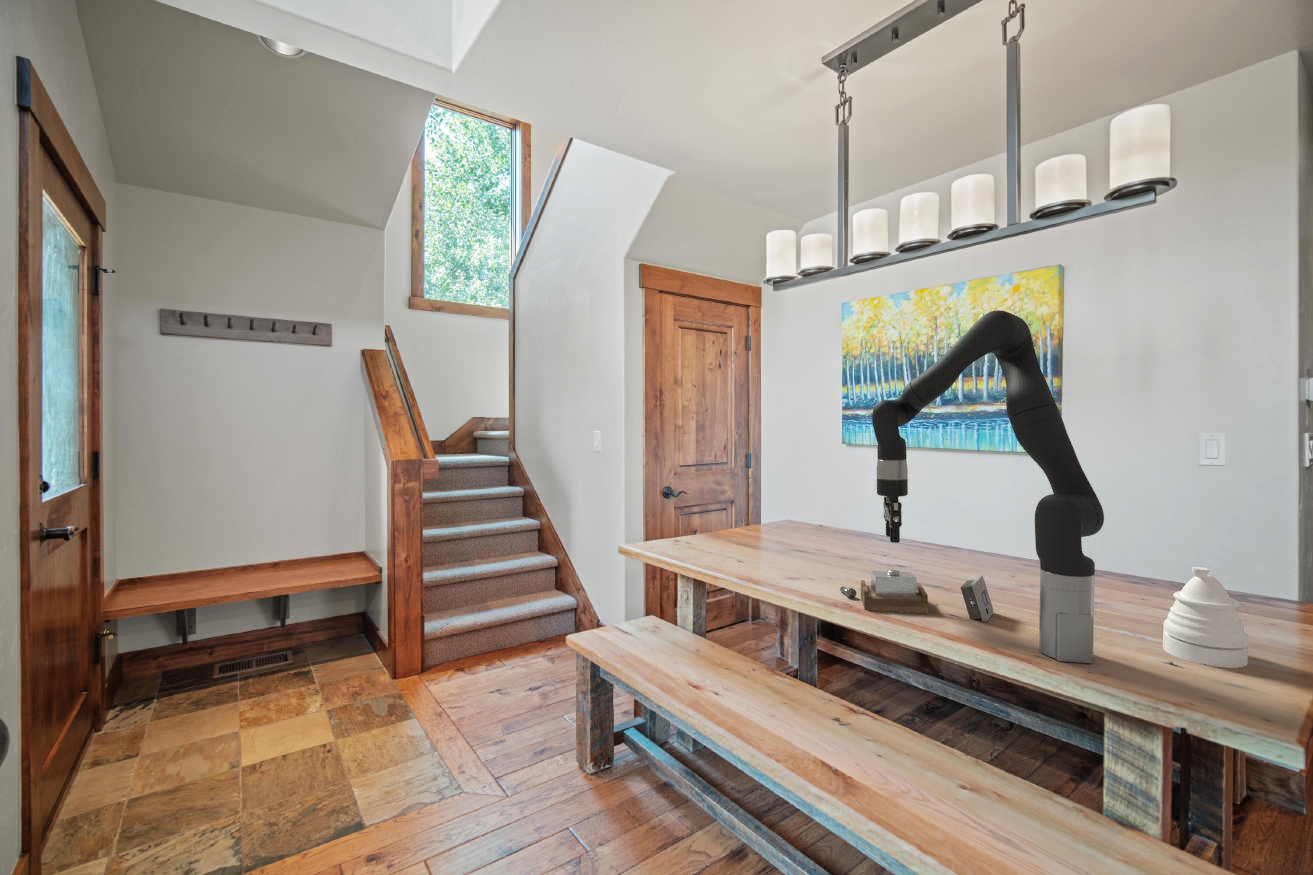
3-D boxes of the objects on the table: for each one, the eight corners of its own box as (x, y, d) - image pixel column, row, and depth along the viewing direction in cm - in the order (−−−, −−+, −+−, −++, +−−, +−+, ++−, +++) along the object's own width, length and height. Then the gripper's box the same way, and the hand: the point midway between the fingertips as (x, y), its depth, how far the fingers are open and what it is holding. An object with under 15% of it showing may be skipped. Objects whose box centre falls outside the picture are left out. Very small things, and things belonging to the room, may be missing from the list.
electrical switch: (986, 623, 143) (982, 584, 143) (962, 620, 146) (959, 582, 146) (994, 613, 150) (990, 575, 150) (971, 611, 153) (967, 574, 153)
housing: (916, 596, 154) (916, 574, 153) (875, 595, 155) (875, 573, 155) (910, 590, 159) (910, 568, 159) (871, 589, 160) (871, 567, 160)
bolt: (856, 598, 163) (856, 588, 163) (847, 598, 163) (847, 588, 163) (847, 591, 169) (847, 582, 169) (838, 591, 169) (838, 582, 169)
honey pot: (1226, 672, 114) (1228, 578, 114) (1149, 648, 126) (1150, 563, 126) (1261, 660, 120) (1263, 571, 119) (1183, 639, 131) (1185, 557, 131)
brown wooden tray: (928, 613, 150) (928, 595, 149) (864, 609, 153) (864, 592, 153) (919, 599, 161) (919, 582, 161) (860, 595, 165) (860, 579, 165)
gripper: (912, 479, 148) (912, 545, 149) (903, 474, 162) (903, 534, 162) (879, 479, 150) (880, 544, 150) (873, 474, 164) (874, 534, 164)
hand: (892, 539), depth 156 cm, fingers open, 8 cm apart
